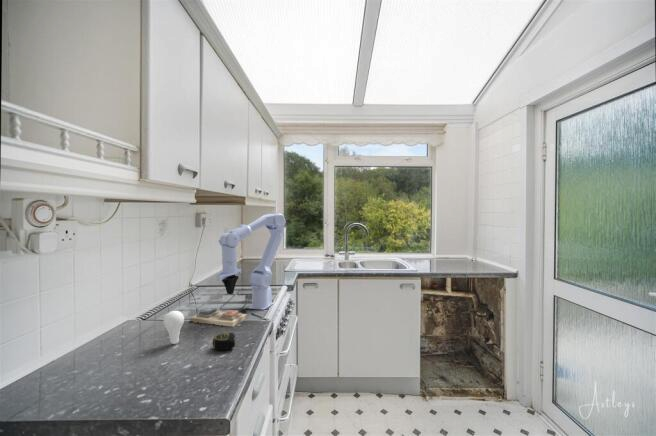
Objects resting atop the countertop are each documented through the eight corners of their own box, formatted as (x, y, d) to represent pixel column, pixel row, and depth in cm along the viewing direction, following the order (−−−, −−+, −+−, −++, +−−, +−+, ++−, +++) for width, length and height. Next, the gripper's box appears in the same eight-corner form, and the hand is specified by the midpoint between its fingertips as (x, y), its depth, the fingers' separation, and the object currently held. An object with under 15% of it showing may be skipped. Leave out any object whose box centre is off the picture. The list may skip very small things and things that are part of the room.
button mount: (207, 313, 130) (206, 307, 130) (247, 317, 124) (247, 311, 124) (190, 321, 120) (189, 315, 120) (232, 326, 114) (232, 320, 114)
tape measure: (235, 350, 95) (235, 339, 95) (212, 354, 93) (211, 342, 93) (235, 341, 101) (234, 331, 101) (213, 344, 99) (213, 333, 99)
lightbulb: (179, 348, 97) (178, 314, 97) (160, 348, 97) (159, 314, 97) (188, 339, 103) (187, 308, 103) (170, 340, 103) (169, 308, 103)
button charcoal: (207, 312, 126) (206, 307, 126) (215, 313, 125) (215, 308, 125) (199, 316, 122) (199, 310, 122) (208, 317, 121) (208, 311, 121)
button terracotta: (229, 314, 123) (229, 309, 123) (238, 315, 122) (238, 310, 122) (222, 318, 119) (222, 313, 119) (232, 319, 118) (231, 314, 118)
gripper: (231, 258, 134) (232, 288, 134) (209, 264, 120) (210, 297, 120) (245, 259, 132) (246, 289, 132) (224, 264, 118) (225, 299, 118)
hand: (230, 293), depth 126 cm, fingers closed
